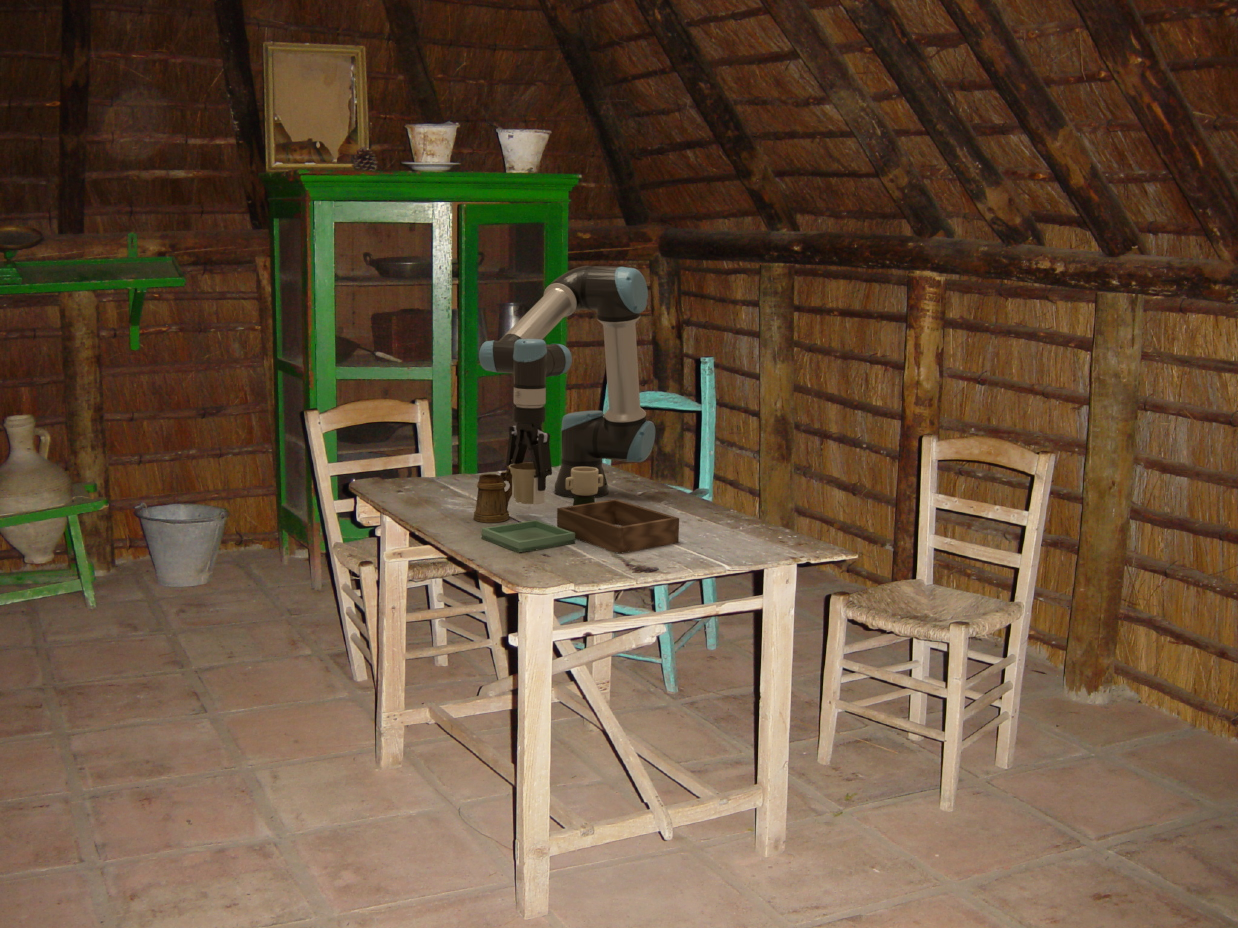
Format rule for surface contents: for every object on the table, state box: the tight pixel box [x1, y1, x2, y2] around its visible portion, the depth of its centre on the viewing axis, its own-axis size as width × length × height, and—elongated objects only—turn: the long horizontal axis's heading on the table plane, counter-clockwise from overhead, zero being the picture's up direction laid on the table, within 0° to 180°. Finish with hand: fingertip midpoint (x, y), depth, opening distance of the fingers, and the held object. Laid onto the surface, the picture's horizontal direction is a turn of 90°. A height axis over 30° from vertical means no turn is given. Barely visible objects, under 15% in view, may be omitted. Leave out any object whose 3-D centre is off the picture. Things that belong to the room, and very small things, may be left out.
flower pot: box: [509, 461, 536, 505], centre depth 286 cm, size 9×9×9 cm
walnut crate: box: [556, 499, 680, 554], centre depth 294 cm, size 18×24×6 cm
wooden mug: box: [473, 460, 512, 524], centre depth 309 cm, size 9×14×18 cm, turn 112°
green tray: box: [481, 519, 576, 553], centre depth 289 cm, size 16×16×2 cm
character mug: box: [566, 467, 603, 506], centre depth 312 cm, size 11×7×13 cm, turn 120°
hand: (528, 500), depth 287 cm, fingers closed on flower pot, 8 cm apart
